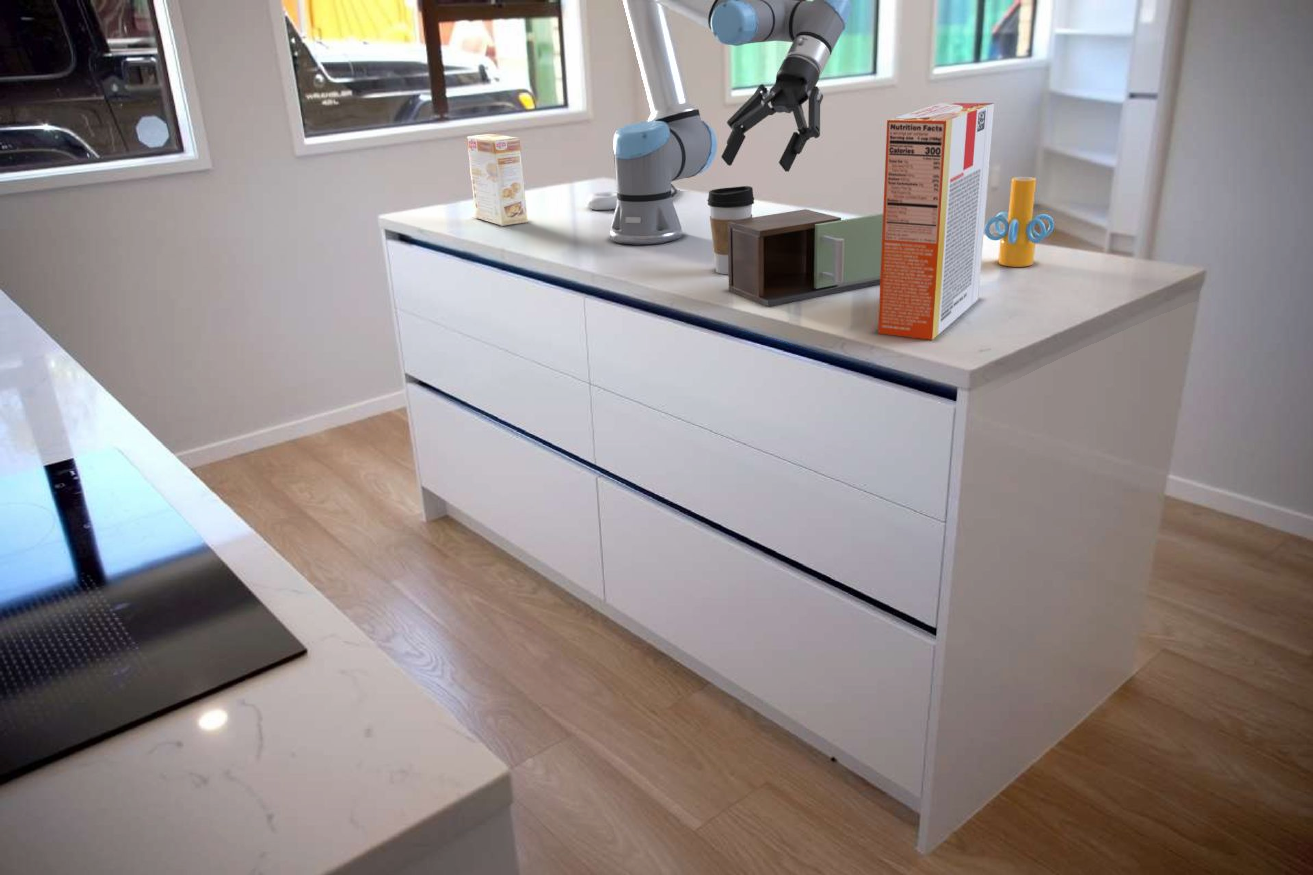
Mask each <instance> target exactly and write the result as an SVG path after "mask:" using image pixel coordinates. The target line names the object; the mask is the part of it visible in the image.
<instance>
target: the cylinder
mask: <svg viewBox="0 0 1313 875" xmlns="http://www.w3.org/2000/svg"><path fill="white" fill-rule="evenodd" d="M1036 184H1037V178H1036V177H1031V176H1016V177H1012V178H1011V182H1010V194H1009V204H1008V212H1007V211H1000V212H999V213H997V215H996V216H993V217H991V218H990V219H988V221H987V222H986V223H985V225H984V234H985V236H986V237H987V238H988V239H989V240H990V241H999V247H998V248H999V249H998V250H999V251H998V259H997V260H998V264H999V265H1002V266H1005V267H1012V268H1022V267H1023V268H1025V267H1029V266H1032V265H1033V264H1034V260H1035V252H1036V244H1039V243H1041V242H1043V241H1044V239H1045V238H1046V237H1048V236H1049V235H1051V233H1052V232H1053V230H1054V227H1055V222H1054V219H1053V217H1051V216H1050V215H1049V214H1046V213H1042V214H1038V215H1035V217H1033V212H1034V203H1035V194H1036V192H1035V191H1036ZM1043 219H1044V220H1046V221H1047V222H1048V228H1046V225H1045V223H1044V222H1043ZM1000 222H1001V223H1002V224H1003V230H1002V229H1001V228H1000ZM993 223H994V229H995V231H996V233H997V234H998V235H993V234H991V231H990V228H991V226H992V224H993ZM1036 224H1037V225H1038V226H1039V229H1040V233H1038V232H1037V231H1036V230H1035V226H1036Z"/></svg>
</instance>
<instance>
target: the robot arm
mask: <svg viewBox="0 0 1313 875" xmlns="http://www.w3.org/2000/svg"><path fill="white" fill-rule="evenodd" d="M622 1H623V2H622V3H623V6H624V9H625V14H626V17H627V21H628V25H629V29H630V34H631V37H632V41H633V45H634V49H635V53H636V58H637V61H638V65H639V69H640V73H641V77H642V80H643V85H644V88H645V93H646V96H647V101H648V104H649V109H650V115H649V117H648V119H647V120H644V121H639V122H634V123H631V124H630V123H629V124H627V125H623V126H622V127H620V128H618V129H617V130H616V131H615V133H614V135H613V148H612V154H613V160H614V174H615V189H616V192H617V206H616V209H614V214H613V219H612V222H611V227H610V229H609V230H610V240H611V241H612V242H614V243H617V244H622V245H634V246H635V245H638V246H641V245H642V246H644V245H645V246H646V245H658V244H663V243H664V244H665V243H669V242H673V241H676V240H679V239H680V238H681V237H682V234H683V233H682V225H681V222H680V219H679V216H678V214H677V210H676V208H675V205H674V203H673V199H672V198H674V197H675V196H676V195H677V193H678V190H677V188H676V187H675V186H674V184H672V182H675V181H678V180H683V179H691V178H693V177H696V176H697V175H699V174H702V173H703V172H705V171H706V170H707V169H709V168H710V167H711V166H712V163H713V162H714V160H715V157H716V154H717V148H718V145H717V144H718V143H717V142H718V141H717V137H716V133H715V132H714V130H713V128H712V126H711V125H709V124H708V123H707V122H706V121H704V120H702V118H701V114H700V110H699V107H697V106H696V105H694V104H693V103H691V101H690V99H689V94H688V90H687V86H686V82H685V78H684V74H683V69H682V66H681V62H680V57H679V53H678V48H677V45H676V41H675V37H674V32H673V29H672V24H671V20H670V17H669V16H670V15H669V12H668V10H670V11H672V12H674V13H676V14H679V15H680V16H682V17H684V18H687V19H688V20H690V21H692V22H694V23H697V24H698V25H700V26H702V27H704V28H706V29H708V30H709V31H711V32H712V34H713V36H714V37H715V39H716V40H717V41H718V42H720V43H721V44H723V45H727V46H733V47H736V46H737V47H738V46H739V47H740V46H743V45H747V44H756V43H768V42H784V43H785V42H787V43H791V45H790V46H789V49H788V51H787V53H786V54H785V58H784V59H783V61H782V63H781V65H780V67H779V68H778V71H777V73H776V76H775V83H774V84H773V86H772V87H771V88H769V87H766V86H765V84H763V83H761V84H759V85H758V86H757V88H756V90H755V92H754V93H753V94H752V96H750V97H749V99H748V100H747V101H745V102H744V104H743V105H742V106H740V107H739V109H737V111H735V112H734V113H733V115H732V116H731V117H730V118H729V119H728V120H727V121H726V124H727V126H728V127H729V128H730V129H731V132H730V134H729V136H728V138H727V140H726V146H725V148H724V150H723V152H722V155H721V156H720V157H721V159H722V160H723V161H724V162H725V164H726V165H727V166H732V164H733V163H734V161H735V159H736V156H737V155H738V153H739V151H740V149H741V147H742V145H743V143H744V141H745V139H746V135H745V134H746V133H747V132H748V131H749V130H751V129H752V128H754V127H756V125H758V124H759V123H760V122H762V121H763V120H764V119H766V118H767V117H769V116H773V115H775V114H776V113H779V114H781V113H786V114H791V113H792V115H793V117H794V121H795V124H796V127H797V128H796V130H797V131H794V132H793V133H792V135H791V136H790V139H789V141H788V143H787V145H786V147H785V148H784V151H783V153H782V155H781V157H780V159H779V161H778V164H779V166H781V168H782V169H783V171H785V172H788V173H789V172H790V170H791V168H792V166H793V164H794V162H795V159H796V158H797V156H798V155H800V154H801V153H802V152H803V149H804V148H805V145H806V143H807V141H809V140H810V139H811V138H814V139H818V138H819V137H820V136H821V104H822V102H823V99H824V95H823V93H822V91H821V90H820V88H819V87H818V86H817V84H818V83H819V80H820V77H821V75H822V74H823V72H824V71H825V68H826V66H827V64H828V61H829V59H830V58H831V55H832V52H833V50H834V48H835V47H836V45H837V42H838V41H839V39H840V37H841V35H842V33H843V32H844V31H845V29H846V26H847V23H848V20H849V18H850V15H851V13H852V5H851V2H850V0H622ZM807 101H808V111H807V112H808V113H807V114H808V116H807V117H808V118H807V119H808V123H807V121H806V117H805V112H804V108H803V104H804V103H806V102H807ZM769 104H770V105H771V106H770V105H769ZM672 191H673V192H672Z"/></svg>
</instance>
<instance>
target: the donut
mask: <svg viewBox="0 0 1313 875" xmlns="http://www.w3.org/2000/svg"><path fill="white" fill-rule="evenodd" d="M586 204H587V207H588V208H589V209H592V210H594V211H612V210H616V206H617V191H601V192H595V193H592V194H590V195H589V196H588V197H587V198H586Z"/></svg>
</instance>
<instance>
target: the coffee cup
mask: <svg viewBox="0 0 1313 875" xmlns="http://www.w3.org/2000/svg"><path fill="white" fill-rule="evenodd" d="M753 190H754V189H753V187H752V186H750V185H749V186H748V185H743V186H742V185H741V186H731V187H721V188H715V189H711V190H709V191H708V195H707V200H706V202H707V206H709V212H710V216H709V222H710V231H711V238H712V239H711V240H712V246H713V247H712V248H713V254H714V265H715V272H716V273H718V274H719V275H720V274H721V275H728V221H733V220H740V219H746V218H752V217H753V214H752V209H753V205H754V204H755V197H754V191H753Z"/></svg>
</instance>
